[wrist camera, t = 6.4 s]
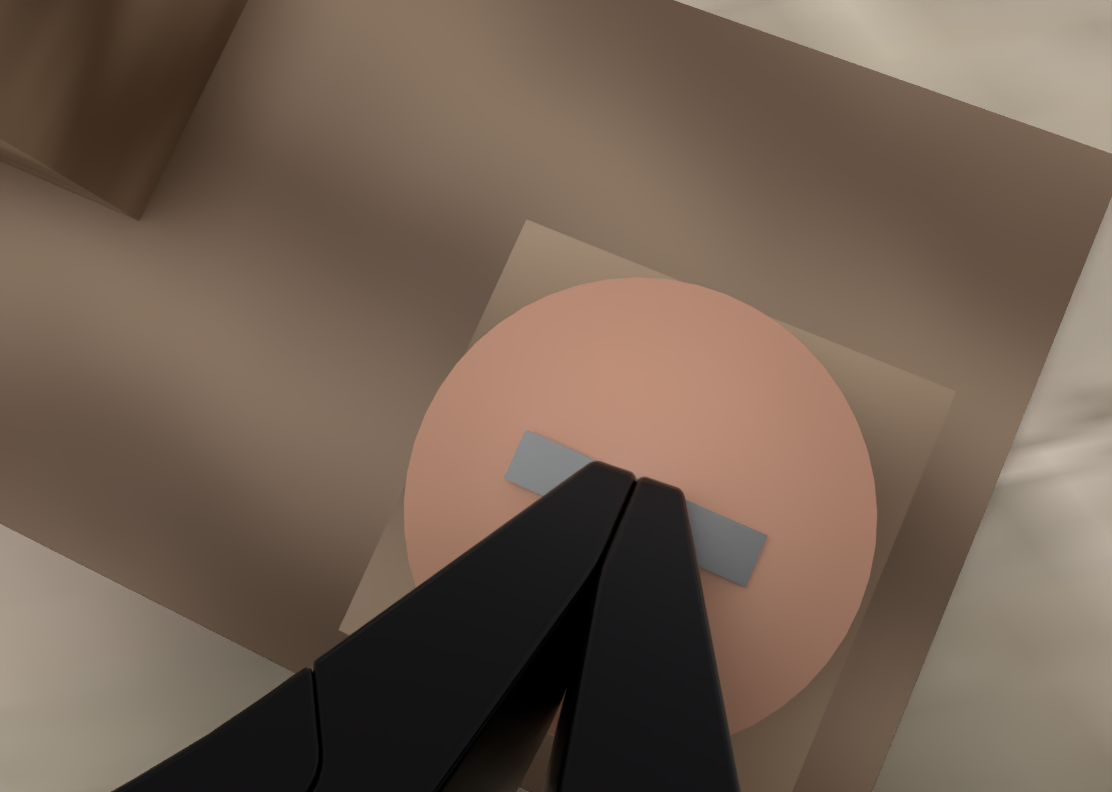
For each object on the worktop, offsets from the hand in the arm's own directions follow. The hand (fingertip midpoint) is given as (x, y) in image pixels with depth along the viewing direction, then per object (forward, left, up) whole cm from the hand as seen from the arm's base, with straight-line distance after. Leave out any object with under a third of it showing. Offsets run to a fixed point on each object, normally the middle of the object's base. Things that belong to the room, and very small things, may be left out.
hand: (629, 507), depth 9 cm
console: (+2, +7, -10) cm, 12 cm away
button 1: (0, 0, -2) cm, 2 cm away
